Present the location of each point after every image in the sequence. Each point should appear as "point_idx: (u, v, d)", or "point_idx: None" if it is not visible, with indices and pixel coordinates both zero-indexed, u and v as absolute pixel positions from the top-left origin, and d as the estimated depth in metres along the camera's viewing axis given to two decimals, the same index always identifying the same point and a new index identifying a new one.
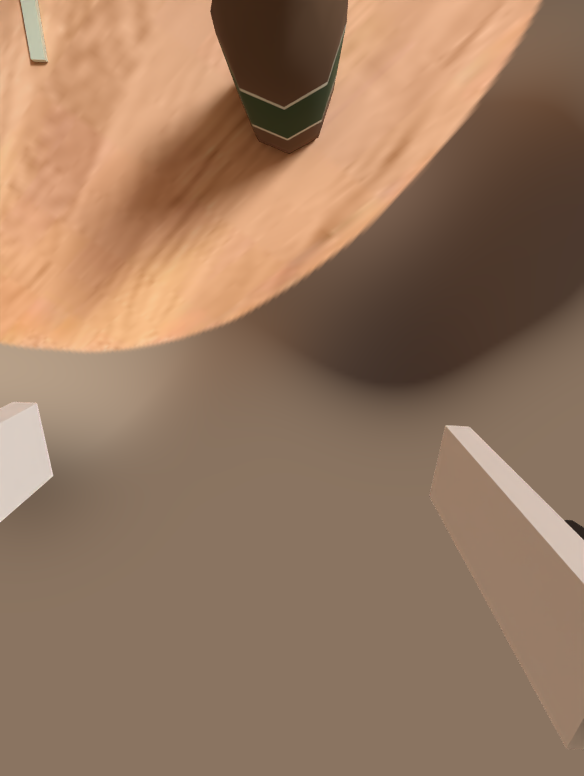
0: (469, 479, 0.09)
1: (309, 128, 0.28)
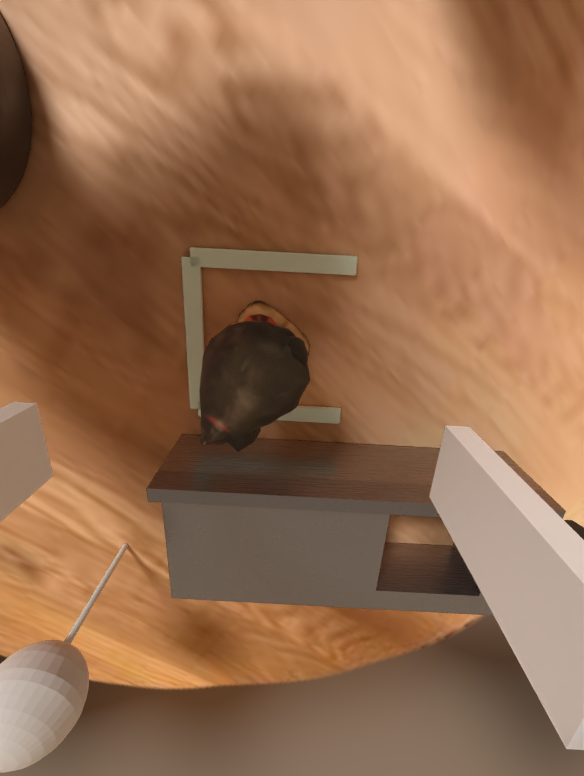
0: (470, 479, 0.09)
1: None
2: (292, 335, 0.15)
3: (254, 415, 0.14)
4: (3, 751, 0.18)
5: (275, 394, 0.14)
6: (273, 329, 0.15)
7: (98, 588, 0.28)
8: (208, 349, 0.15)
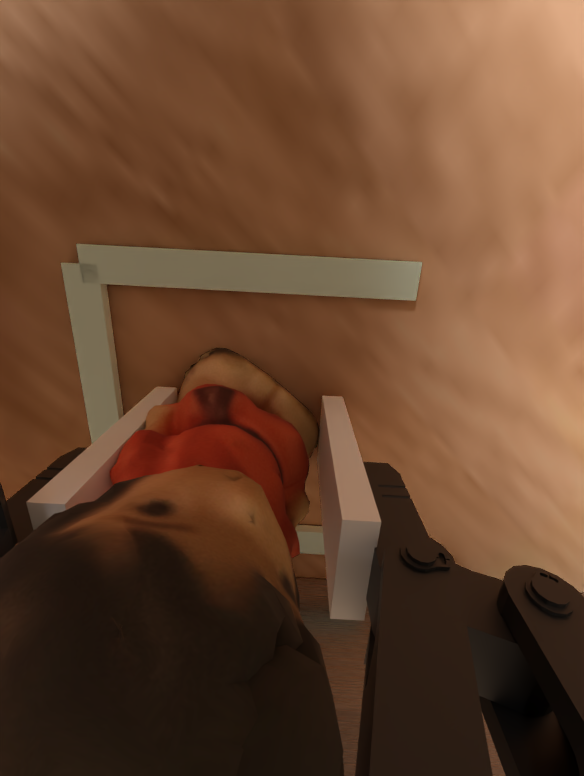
0: (324, 436, 0.11)
1: None
2: (270, 648, 0.03)
3: None
4: None
5: None
6: (171, 642, 0.03)
7: None
8: None
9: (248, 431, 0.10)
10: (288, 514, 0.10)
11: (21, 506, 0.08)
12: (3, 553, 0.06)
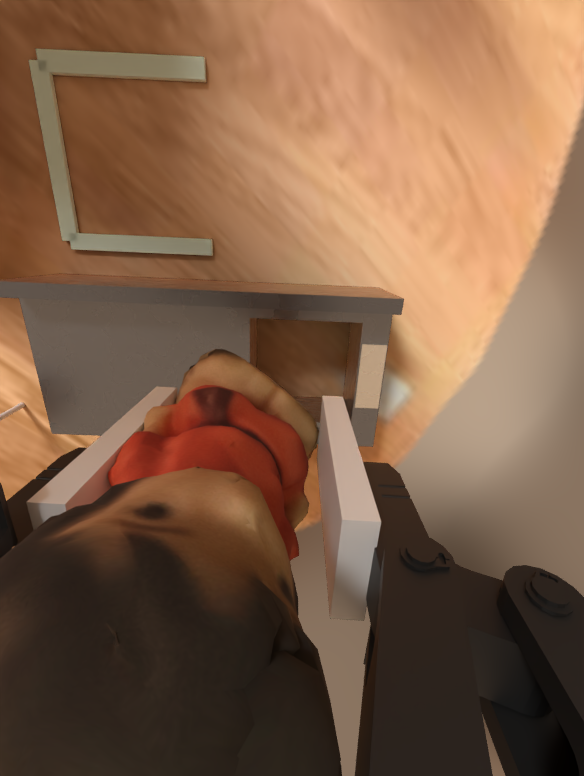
0: (324, 436, 0.11)
1: None
2: (267, 654, 0.03)
3: None
4: None
5: None
6: (166, 648, 0.03)
7: None
8: None
9: (247, 432, 0.10)
10: (287, 516, 0.10)
11: (21, 506, 0.08)
12: (3, 553, 0.06)
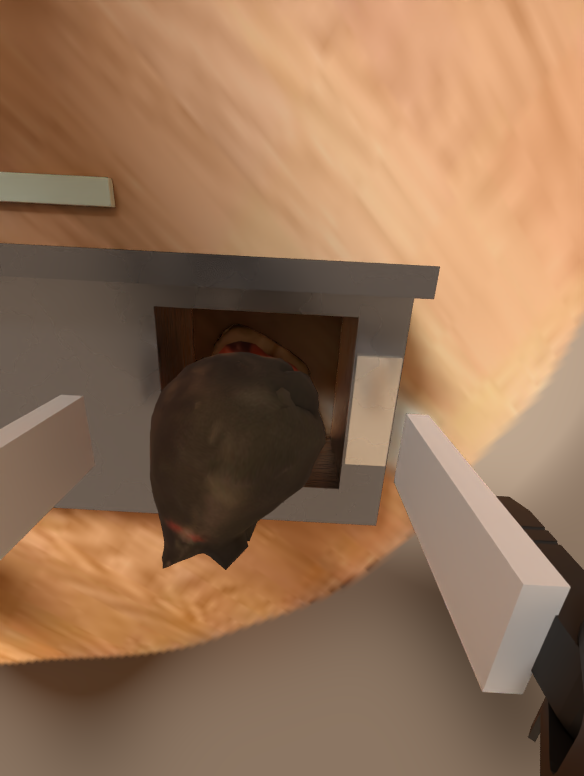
0: (422, 462, 0.10)
1: None
2: (289, 369, 0.09)
3: (243, 511, 0.08)
4: None
5: (274, 473, 0.08)
6: (256, 363, 0.09)
7: None
8: (156, 410, 0.09)
9: None
10: None
11: None
12: None
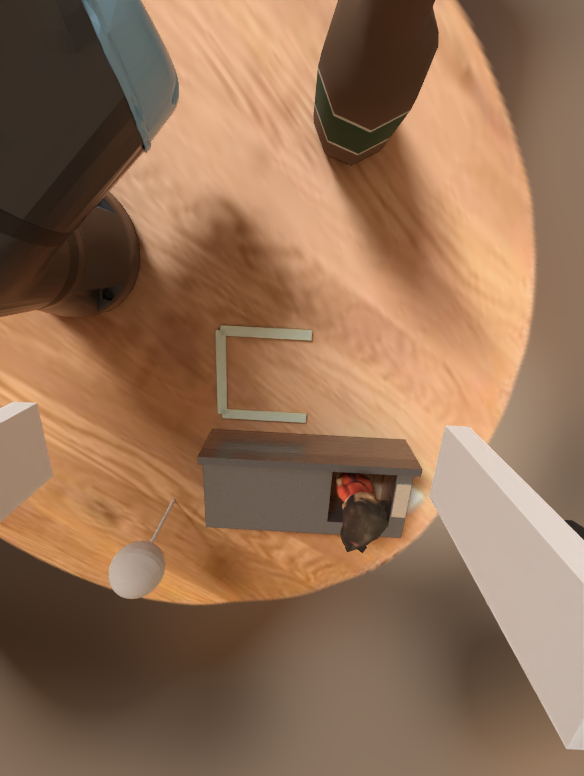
0: (469, 480, 0.09)
1: None
2: (380, 508, 0.38)
3: (370, 541, 0.38)
4: (131, 583, 0.37)
5: (377, 533, 0.38)
6: (373, 507, 0.38)
7: (161, 521, 0.46)
8: (347, 515, 0.39)
9: (360, 482, 0.45)
10: None
11: None
12: None
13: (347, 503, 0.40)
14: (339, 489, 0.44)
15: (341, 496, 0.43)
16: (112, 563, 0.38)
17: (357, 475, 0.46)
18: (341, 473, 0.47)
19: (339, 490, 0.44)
